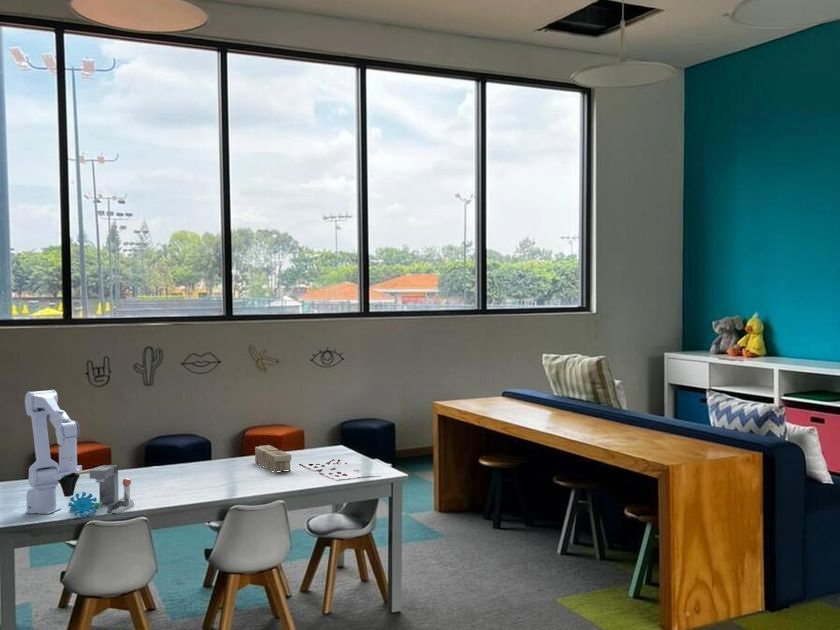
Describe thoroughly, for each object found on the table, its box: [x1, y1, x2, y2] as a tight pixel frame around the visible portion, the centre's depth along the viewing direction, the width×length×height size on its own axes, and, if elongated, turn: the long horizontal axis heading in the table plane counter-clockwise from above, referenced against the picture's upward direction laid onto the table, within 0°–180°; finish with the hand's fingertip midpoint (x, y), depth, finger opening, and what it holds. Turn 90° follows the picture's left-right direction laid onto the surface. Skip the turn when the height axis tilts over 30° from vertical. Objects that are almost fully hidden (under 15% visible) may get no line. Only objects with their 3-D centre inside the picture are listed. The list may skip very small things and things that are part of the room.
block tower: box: [254, 444, 292, 472], centre depth 378 cm, size 8×8×29 cm
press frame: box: [70, 464, 135, 515], centre depth 308 cm, size 19×16×14 cm
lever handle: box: [121, 477, 134, 505], centre depth 308 cm, size 3×3×10 cm
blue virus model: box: [67, 491, 102, 518], centre depth 299 cm, size 11×6×10 cm
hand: (68, 495), depth 287 cm, fingers closed
